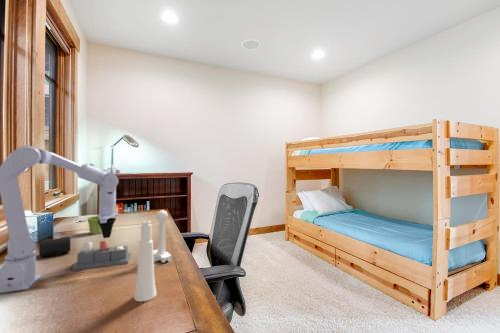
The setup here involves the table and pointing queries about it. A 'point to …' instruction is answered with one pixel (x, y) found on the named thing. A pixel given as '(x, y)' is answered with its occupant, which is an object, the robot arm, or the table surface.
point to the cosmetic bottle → (145, 266)
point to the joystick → (161, 239)
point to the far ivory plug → (119, 248)
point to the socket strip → (102, 258)
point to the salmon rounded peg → (104, 245)
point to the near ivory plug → (87, 247)
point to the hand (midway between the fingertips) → (106, 237)
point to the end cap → (54, 246)
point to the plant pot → (94, 225)
